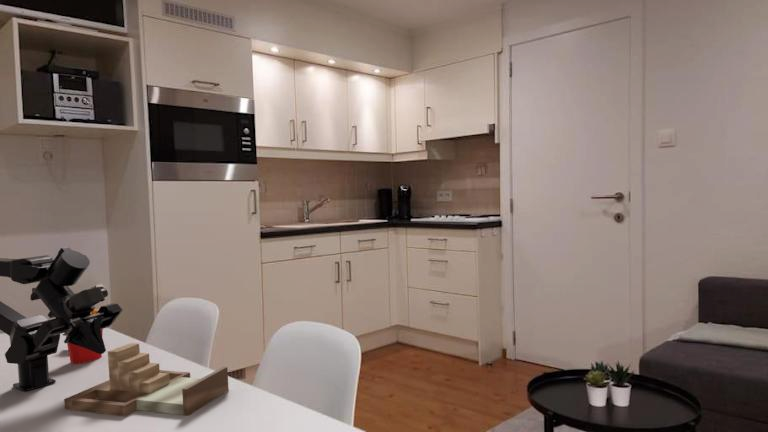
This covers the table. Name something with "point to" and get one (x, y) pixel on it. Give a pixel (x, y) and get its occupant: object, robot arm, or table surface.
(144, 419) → the table surface
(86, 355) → the french fries
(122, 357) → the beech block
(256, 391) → the table surface
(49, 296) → the robot arm
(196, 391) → the brown wooden flat frame
